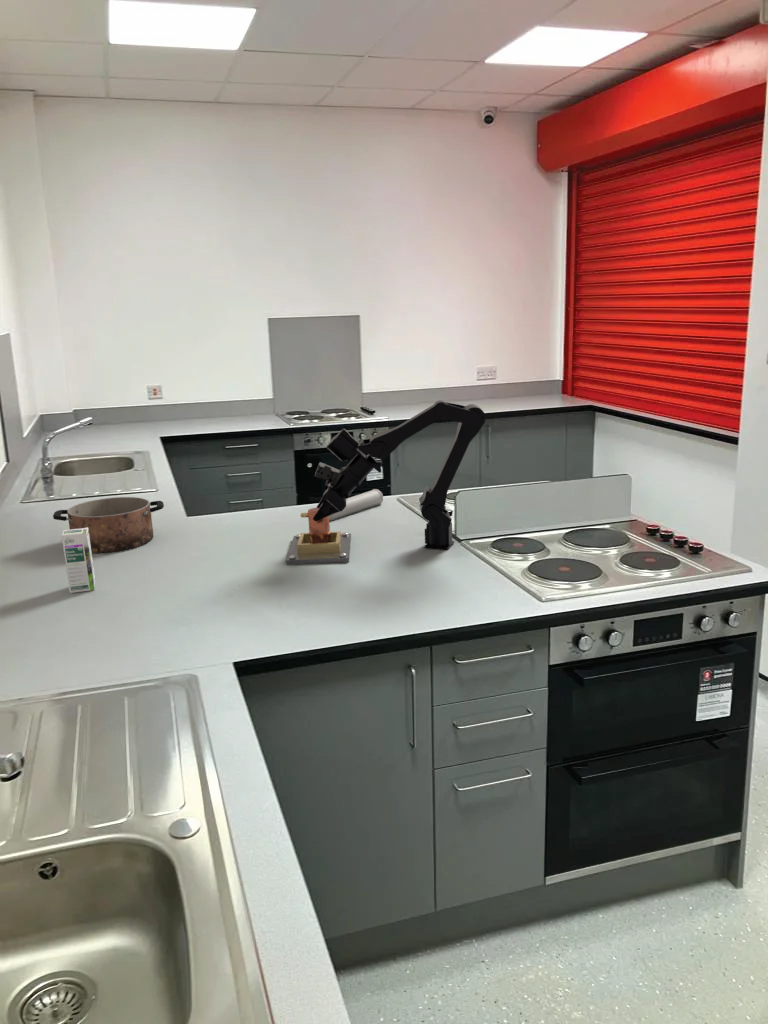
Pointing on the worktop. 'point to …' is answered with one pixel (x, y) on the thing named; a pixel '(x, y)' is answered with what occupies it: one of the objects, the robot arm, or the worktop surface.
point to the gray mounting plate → (319, 549)
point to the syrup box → (78, 560)
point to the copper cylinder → (317, 527)
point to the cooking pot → (113, 522)
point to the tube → (359, 503)
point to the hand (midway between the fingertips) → (315, 515)
